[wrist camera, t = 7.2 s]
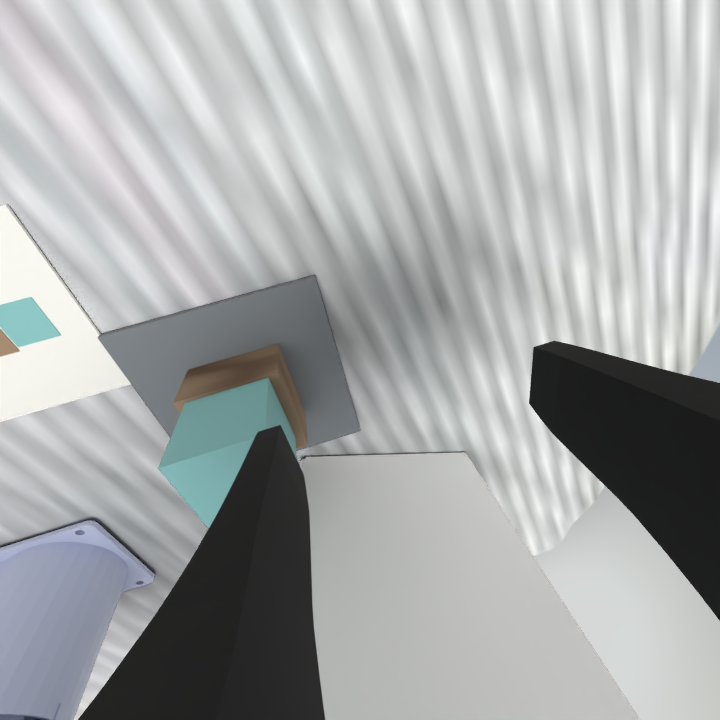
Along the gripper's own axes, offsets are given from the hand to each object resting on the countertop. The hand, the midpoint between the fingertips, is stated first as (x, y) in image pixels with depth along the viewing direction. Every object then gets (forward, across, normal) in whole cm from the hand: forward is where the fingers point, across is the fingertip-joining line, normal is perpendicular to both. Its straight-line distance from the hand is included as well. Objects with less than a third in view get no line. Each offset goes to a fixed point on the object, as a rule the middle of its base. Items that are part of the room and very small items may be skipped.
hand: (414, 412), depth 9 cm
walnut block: (+10, +7, +4) cm, 13 cm away
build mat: (+10, +7, +4) cm, 13 cm away
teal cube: (+7, +7, +4) cm, 11 cm away
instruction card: (+10, +16, -3) cm, 19 cm away
